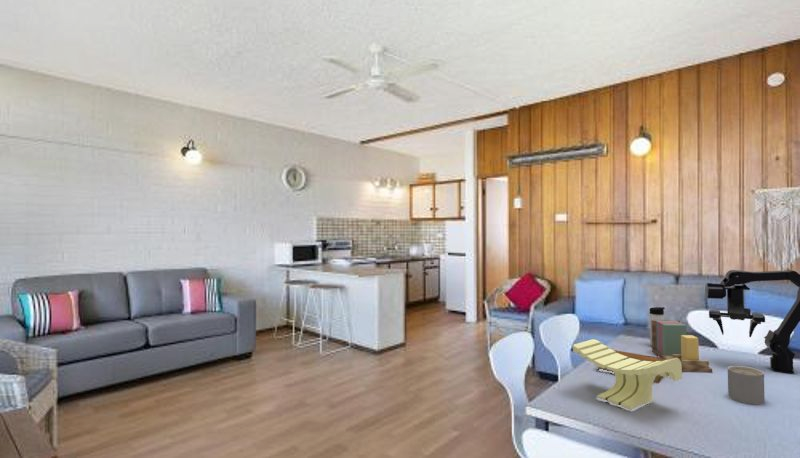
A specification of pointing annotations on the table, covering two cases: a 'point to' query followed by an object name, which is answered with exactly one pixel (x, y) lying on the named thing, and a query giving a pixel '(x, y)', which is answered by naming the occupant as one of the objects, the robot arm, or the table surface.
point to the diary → (642, 358)
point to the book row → (669, 337)
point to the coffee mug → (746, 384)
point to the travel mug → (655, 317)
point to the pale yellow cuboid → (689, 347)
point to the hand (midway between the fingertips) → (736, 335)
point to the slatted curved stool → (628, 373)
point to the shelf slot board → (679, 355)
